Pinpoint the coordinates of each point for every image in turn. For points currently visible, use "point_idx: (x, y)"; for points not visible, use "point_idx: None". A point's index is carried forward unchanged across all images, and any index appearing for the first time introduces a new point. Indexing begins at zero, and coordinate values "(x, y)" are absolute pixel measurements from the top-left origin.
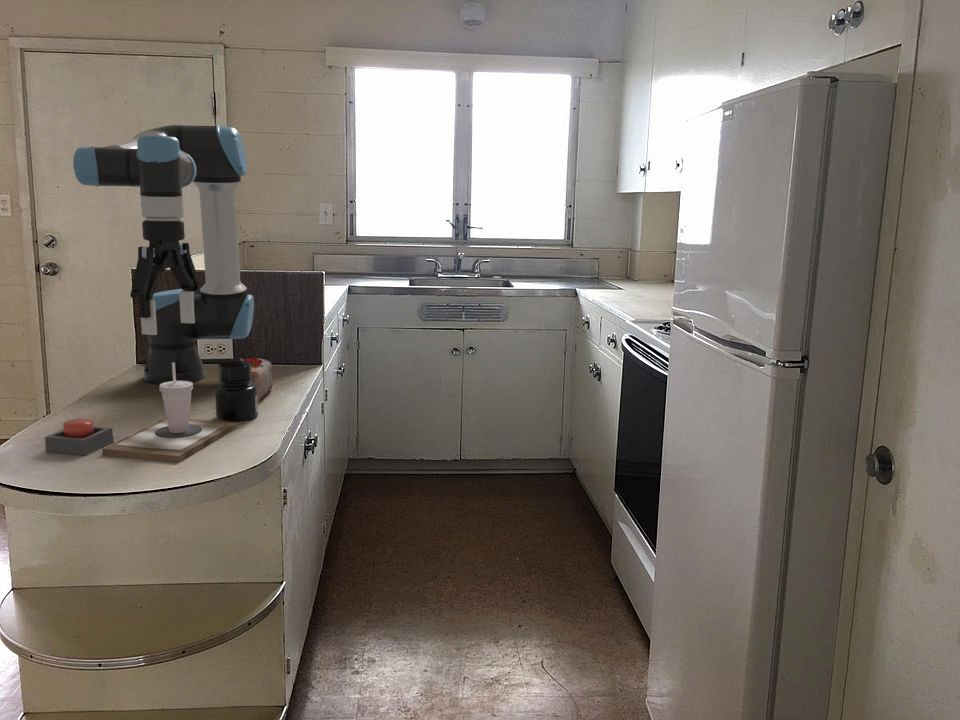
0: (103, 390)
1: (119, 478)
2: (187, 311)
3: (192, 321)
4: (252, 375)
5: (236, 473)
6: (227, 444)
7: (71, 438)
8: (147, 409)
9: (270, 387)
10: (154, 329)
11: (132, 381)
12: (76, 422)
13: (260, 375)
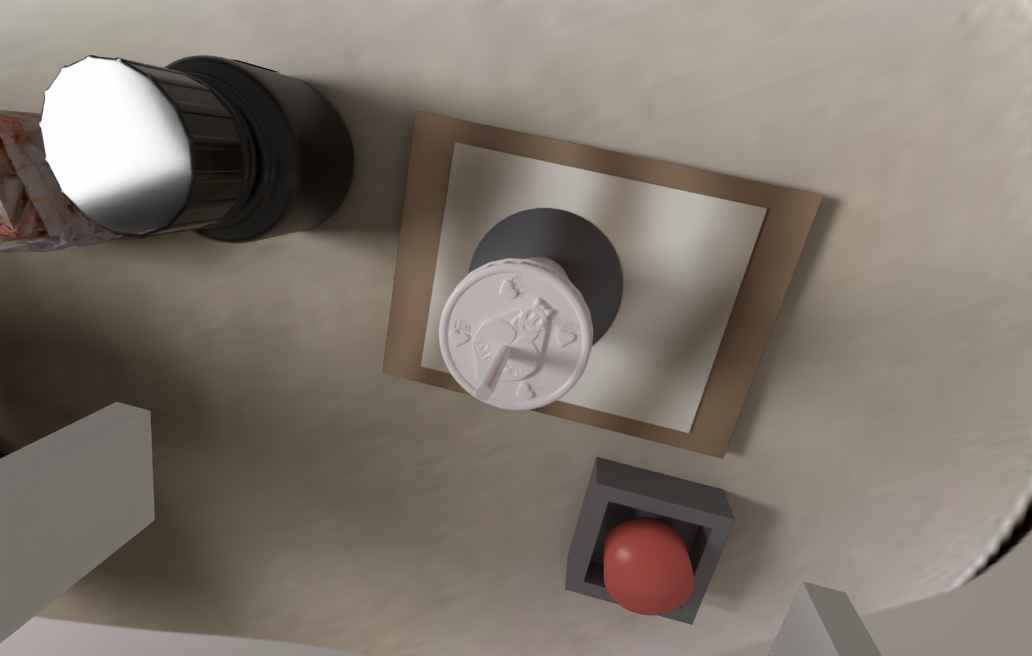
0: (131, 619)
1: (961, 332)
2: (30, 535)
3: (134, 424)
4: (14, 138)
5: None
6: (614, 84)
7: (711, 557)
8: (270, 463)
9: None
10: (874, 644)
11: None
12: (649, 584)
13: None
